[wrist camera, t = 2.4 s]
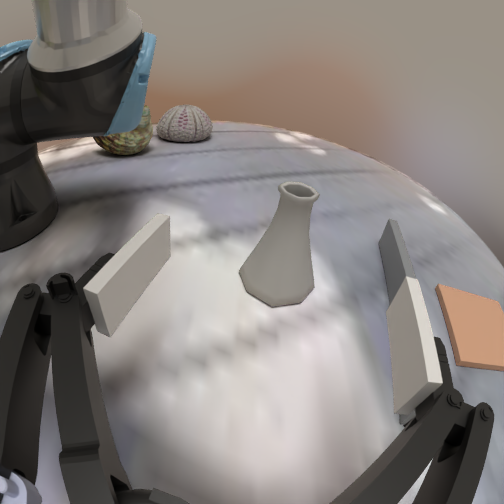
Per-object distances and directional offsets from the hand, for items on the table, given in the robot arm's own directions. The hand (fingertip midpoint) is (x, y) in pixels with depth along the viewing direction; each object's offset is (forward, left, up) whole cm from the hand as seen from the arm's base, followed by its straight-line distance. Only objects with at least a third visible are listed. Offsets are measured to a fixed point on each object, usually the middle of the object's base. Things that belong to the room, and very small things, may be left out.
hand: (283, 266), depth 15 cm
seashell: (-49, -13, -10) cm, 52 cm away
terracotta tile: (+4, +27, -10) cm, 29 cm away
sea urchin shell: (-59, 0, -10) cm, 60 cm away
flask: (-9, +5, -10) cm, 14 cm away
